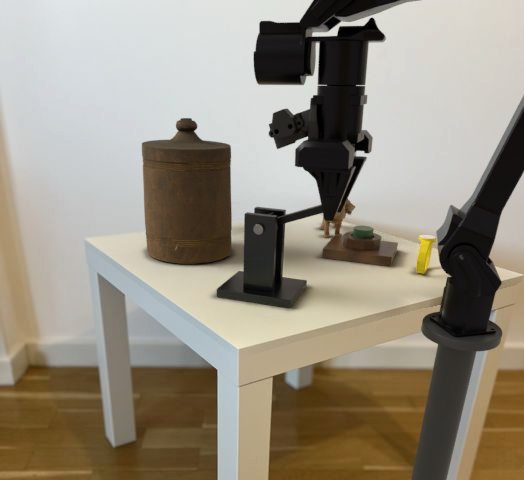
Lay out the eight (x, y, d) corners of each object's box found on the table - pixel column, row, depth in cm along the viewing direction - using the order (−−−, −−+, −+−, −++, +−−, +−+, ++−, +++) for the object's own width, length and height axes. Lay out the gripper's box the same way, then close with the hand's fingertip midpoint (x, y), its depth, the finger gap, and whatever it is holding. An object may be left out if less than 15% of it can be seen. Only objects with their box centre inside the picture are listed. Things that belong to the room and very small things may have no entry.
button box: (396, 251, 102) (399, 232, 101) (390, 266, 94) (393, 246, 92) (333, 243, 105) (335, 225, 104) (322, 257, 97) (323, 238, 95)
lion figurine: (353, 242, 107) (358, 195, 103) (326, 242, 106) (331, 195, 102) (334, 223, 120) (338, 181, 116) (310, 223, 119) (313, 181, 115)
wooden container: (207, 237, 107) (206, 114, 97) (246, 257, 95) (249, 121, 86) (134, 246, 99) (124, 115, 89) (167, 269, 88) (160, 122, 78)
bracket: (306, 287, 83) (312, 209, 78) (290, 308, 75) (295, 223, 70) (238, 277, 86) (239, 201, 81) (216, 296, 78) (216, 214, 73)
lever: (343, 209, 74) (338, 192, 73) (335, 217, 70) (330, 198, 69) (264, 231, 79) (259, 215, 78) (253, 239, 75) (247, 222, 74)
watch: (427, 278, 89) (433, 242, 86) (409, 275, 90) (415, 239, 87) (432, 268, 94) (438, 233, 91) (416, 265, 95) (421, 231, 92)
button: (373, 236, 99) (375, 226, 98) (370, 241, 96) (372, 231, 95) (354, 234, 100) (355, 224, 99) (350, 238, 97) (351, 229, 96)
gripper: (297, 84, 76) (293, 199, 83) (252, 86, 60) (252, 227, 67) (377, 85, 73) (367, 204, 80) (353, 86, 57) (342, 235, 64)
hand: (333, 216), depth 73 cm, fingers closed on lever, 5 cm apart
